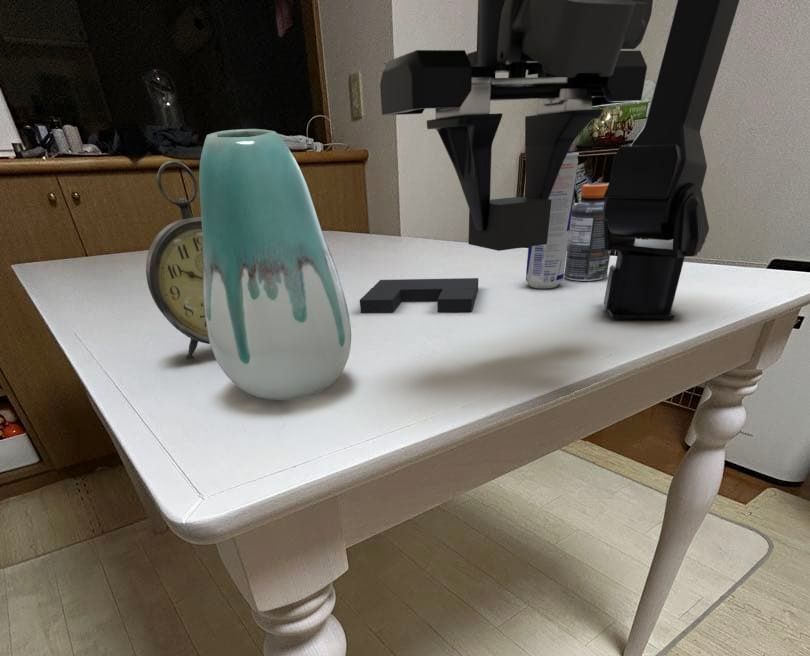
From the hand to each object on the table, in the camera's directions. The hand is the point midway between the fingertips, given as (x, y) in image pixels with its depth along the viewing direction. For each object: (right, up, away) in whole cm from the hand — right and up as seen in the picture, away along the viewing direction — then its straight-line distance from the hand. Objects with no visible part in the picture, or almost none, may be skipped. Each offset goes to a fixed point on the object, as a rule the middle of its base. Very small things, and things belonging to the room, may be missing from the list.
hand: (507, 226), depth 41 cm
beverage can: (+11, +10, +31) cm, 34 cm away
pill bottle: (+18, +13, +33) cm, 40 cm away
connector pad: (0, -1, +1) cm, 1 cm away
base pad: (-6, +7, +27) cm, 29 cm away
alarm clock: (-27, -5, +14) cm, 31 cm away
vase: (-18, -12, +4) cm, 22 cm away
